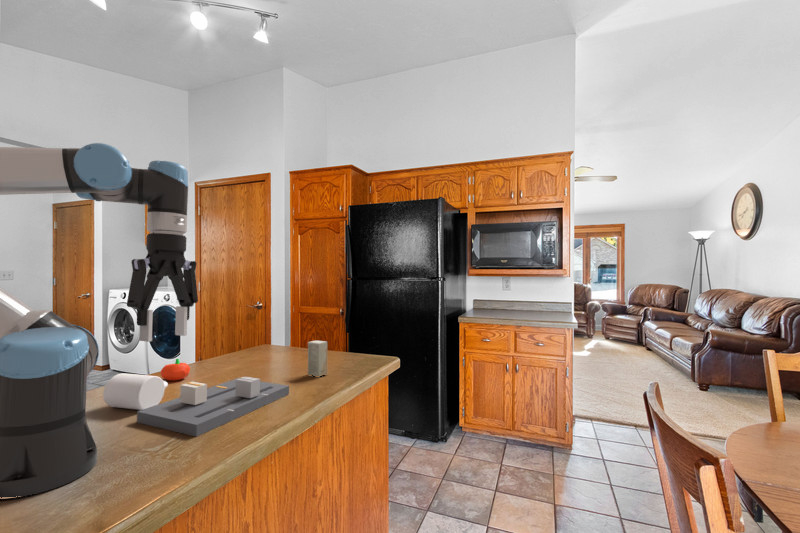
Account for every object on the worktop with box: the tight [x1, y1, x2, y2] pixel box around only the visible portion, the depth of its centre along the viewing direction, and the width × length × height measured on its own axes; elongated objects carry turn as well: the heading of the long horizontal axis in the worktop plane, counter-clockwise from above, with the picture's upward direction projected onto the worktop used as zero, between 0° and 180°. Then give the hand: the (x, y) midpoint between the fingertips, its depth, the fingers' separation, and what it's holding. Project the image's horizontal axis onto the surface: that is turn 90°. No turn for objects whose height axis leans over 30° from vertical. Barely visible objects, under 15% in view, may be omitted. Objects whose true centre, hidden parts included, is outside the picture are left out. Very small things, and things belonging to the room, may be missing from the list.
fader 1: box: [179, 381, 208, 405], centre depth 92 cm, size 3×5×4 cm
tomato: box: [160, 358, 191, 382], centre depth 119 cm, size 7×8×6 cm
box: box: [307, 340, 328, 377], centre depth 127 cm, size 5×4×11 cm
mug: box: [102, 372, 169, 411], centre depth 97 cm, size 12×10×8 cm
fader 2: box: [235, 376, 261, 398], centre depth 97 cm, size 3×5×4 cm
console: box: [136, 377, 290, 437], centre depth 96 cm, size 30×19×2 cm, turn 159°
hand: (164, 337), depth 85 cm, fingers open, 8 cm apart
